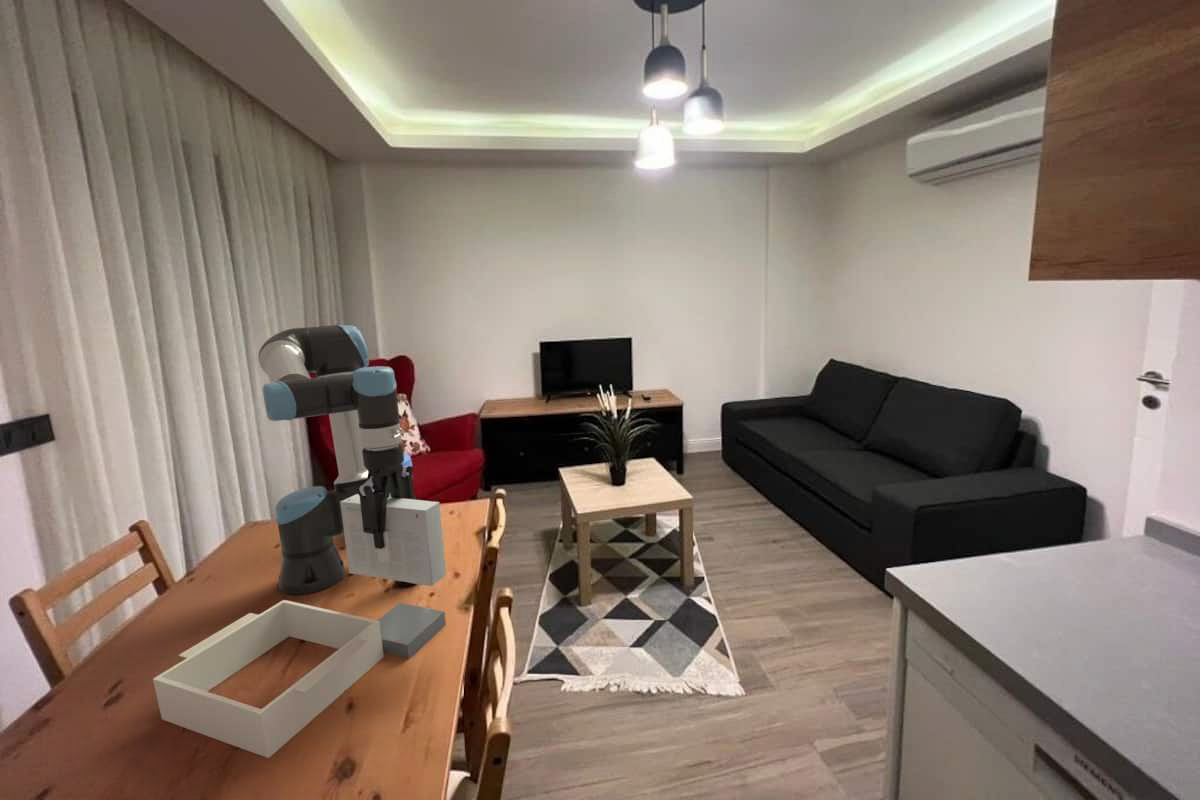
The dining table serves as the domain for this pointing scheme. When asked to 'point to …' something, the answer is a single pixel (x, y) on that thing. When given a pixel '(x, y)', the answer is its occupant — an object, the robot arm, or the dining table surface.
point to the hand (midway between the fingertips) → (395, 554)
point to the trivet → (409, 628)
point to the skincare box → (397, 541)
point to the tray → (243, 643)
